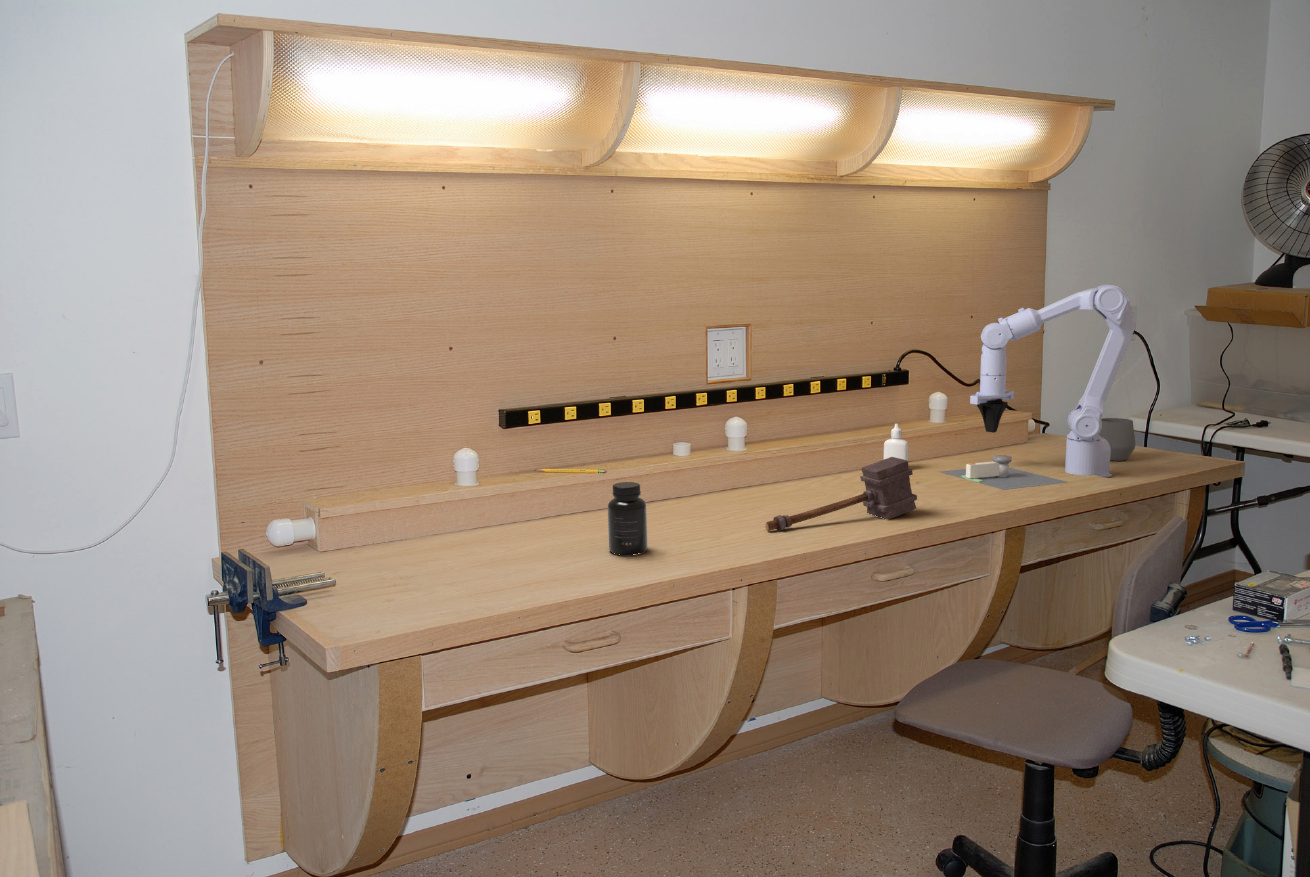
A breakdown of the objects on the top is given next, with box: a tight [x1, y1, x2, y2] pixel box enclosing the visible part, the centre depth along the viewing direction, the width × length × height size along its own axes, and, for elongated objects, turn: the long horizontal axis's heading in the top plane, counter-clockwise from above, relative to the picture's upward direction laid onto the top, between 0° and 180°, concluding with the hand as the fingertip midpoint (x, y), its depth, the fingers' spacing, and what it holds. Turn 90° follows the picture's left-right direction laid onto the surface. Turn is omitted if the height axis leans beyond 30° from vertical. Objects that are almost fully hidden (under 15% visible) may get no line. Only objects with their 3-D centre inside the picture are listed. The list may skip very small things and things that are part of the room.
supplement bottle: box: [607, 481, 648, 556], centre depth 173 cm, size 7×7×12 cm
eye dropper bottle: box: [883, 423, 909, 462], centre depth 236 cm, size 4×6×12 cm
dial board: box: [939, 467, 1068, 491], centre depth 226 cm, size 18×22×1 cm
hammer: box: [765, 457, 918, 532], centre depth 192 cm, size 7×33×10 cm, turn 115°
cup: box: [1098, 417, 1136, 462], centre depth 249 cm, size 10×9×10 cm
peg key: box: [965, 454, 1013, 478], centre depth 225 cm, size 11×4×4 cm, turn 108°
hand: (991, 431), depth 234 cm, fingers closed
